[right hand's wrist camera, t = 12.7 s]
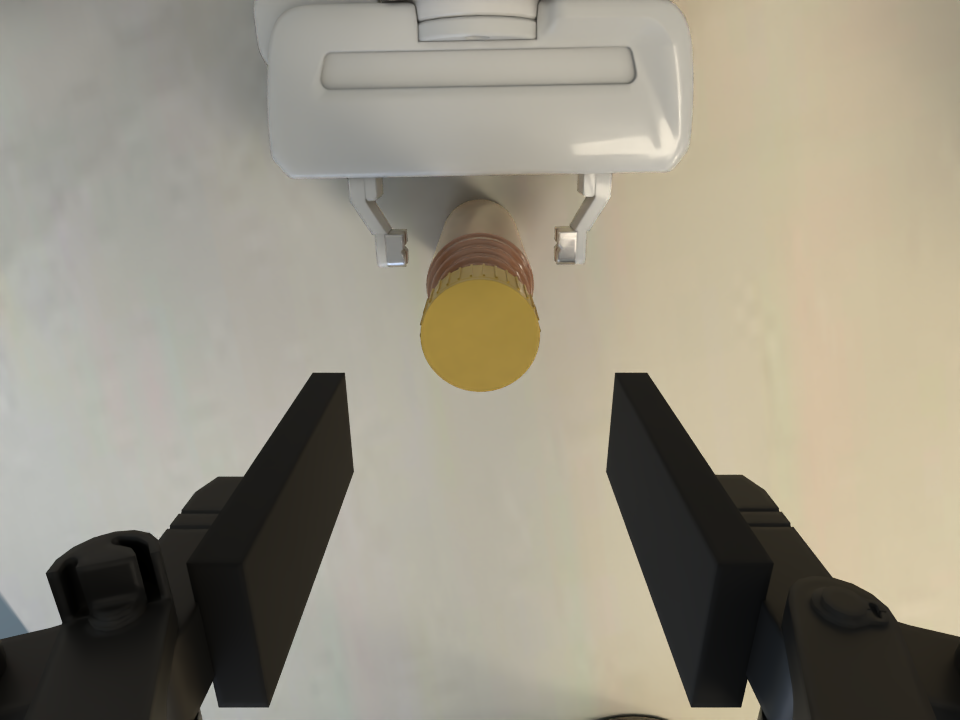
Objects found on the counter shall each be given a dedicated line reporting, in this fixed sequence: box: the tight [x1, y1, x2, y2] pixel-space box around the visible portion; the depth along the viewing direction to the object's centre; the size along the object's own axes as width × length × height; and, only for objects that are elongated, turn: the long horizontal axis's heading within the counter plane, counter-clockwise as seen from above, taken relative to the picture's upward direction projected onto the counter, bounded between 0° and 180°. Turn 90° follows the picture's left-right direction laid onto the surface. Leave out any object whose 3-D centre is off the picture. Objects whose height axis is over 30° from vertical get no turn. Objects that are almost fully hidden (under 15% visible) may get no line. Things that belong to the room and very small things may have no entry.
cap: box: [420, 264, 541, 392], centre depth 21 cm, size 4×4×2 cm
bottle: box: [426, 199, 534, 299], centre depth 29 cm, size 5×5×18 cm
